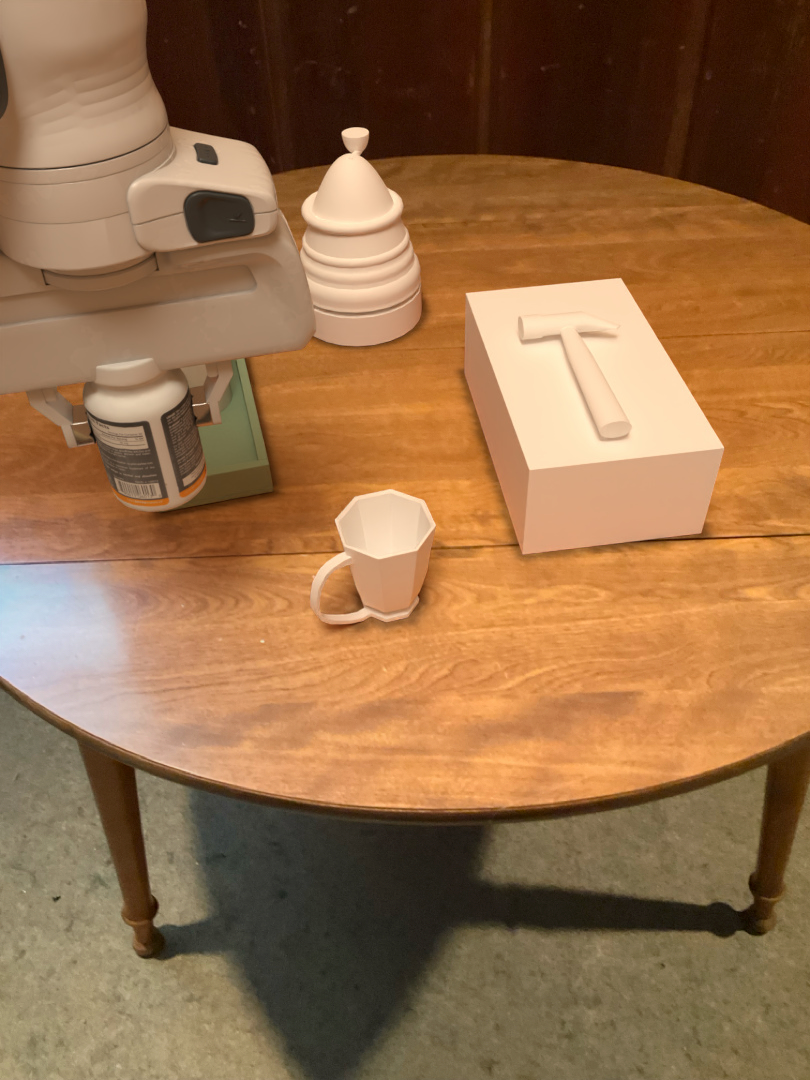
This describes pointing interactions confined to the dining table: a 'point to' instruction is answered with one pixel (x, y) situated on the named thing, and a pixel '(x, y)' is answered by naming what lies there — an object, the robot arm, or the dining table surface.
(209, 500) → the bottle tray
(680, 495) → the hammer embossed box
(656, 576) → the dining table surface
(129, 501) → the pill bottle
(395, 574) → the cup
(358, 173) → the honey pot
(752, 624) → the dining table surface
